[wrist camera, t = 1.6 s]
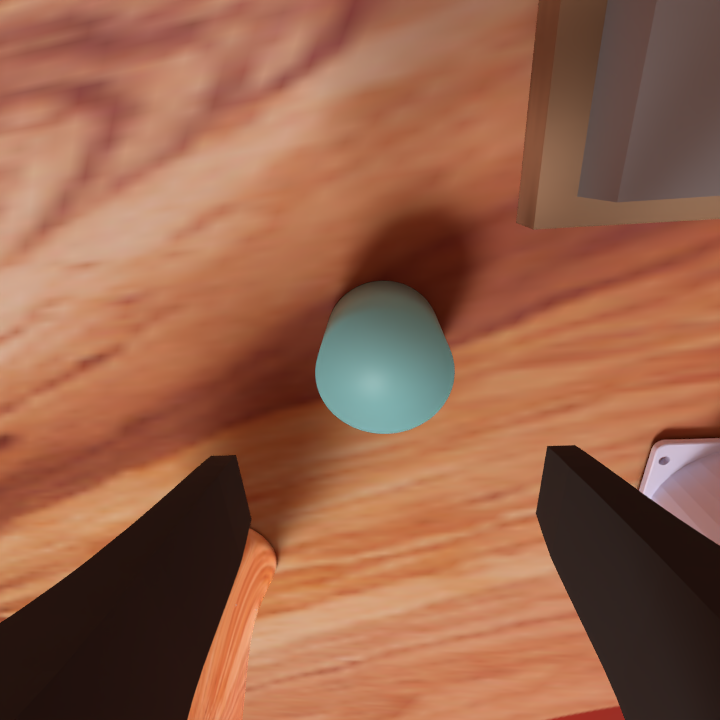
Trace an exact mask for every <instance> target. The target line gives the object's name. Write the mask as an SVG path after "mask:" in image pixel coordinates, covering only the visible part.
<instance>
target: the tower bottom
mask: <svg viewBox="0 0 720 720" xmlns="http://www.w3.org/2000/svg"><path fill="white" fill-rule="evenodd" d="M607 1H608V0H539V4H538V14H537V23H536V33H535V43H534V53H533V63H532V73H531V83H530V93H529V102H528V112H527V122H526V132H525V142H524V152H523V162H522V172H521V182H520V191H519V201H518V211H517V221H516V223H518V224H521V225H523V226H526V227H529V228H531V229H549V228H567V227H584V226H602V225H619V224H637V223H655V222H672V221H690V220H708V219H720V196H709V197H694V198H678V199H663V200H647V201H632V202H611V201H604V200H597V199H591V198H584V197H577V195H578V188H579V181H580V175H581V168H582V162H583V155H584V149H585V142H586V136H587V129H588V123H589V116H590V110H591V104H592V97H593V91H594V84H595V78H596V72H597V65H598V59H599V53H600V46H601V40H602V33H603V27H604V21H605V14H606V8H607Z"/></svg>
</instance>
